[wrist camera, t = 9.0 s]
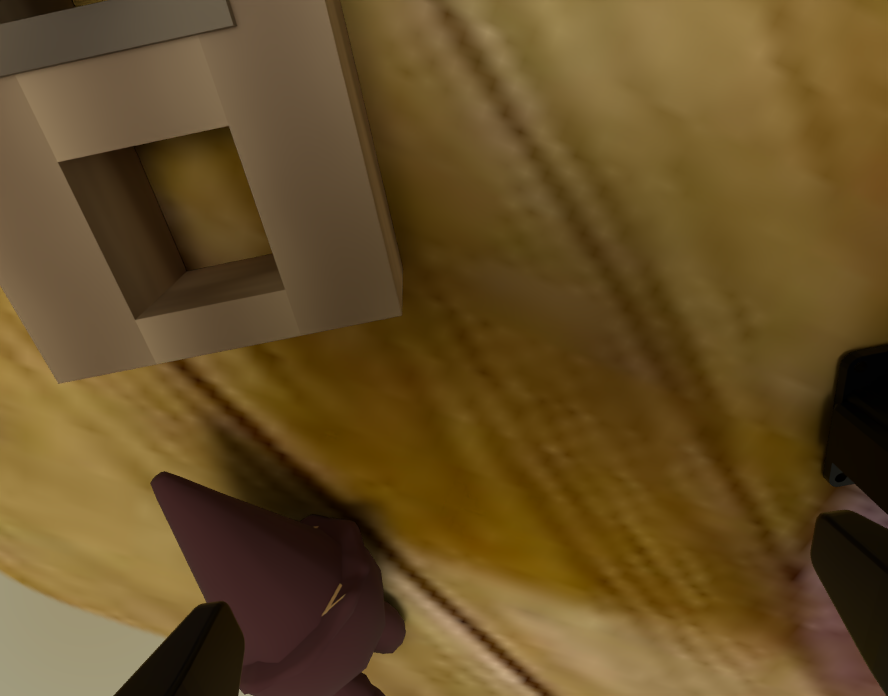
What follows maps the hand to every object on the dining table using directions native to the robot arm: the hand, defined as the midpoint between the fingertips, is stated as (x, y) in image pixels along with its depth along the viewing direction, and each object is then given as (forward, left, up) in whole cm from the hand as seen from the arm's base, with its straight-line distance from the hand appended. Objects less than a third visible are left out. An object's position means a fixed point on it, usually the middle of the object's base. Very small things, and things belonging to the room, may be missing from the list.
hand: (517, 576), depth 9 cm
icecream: (+8, +10, -13) cm, 18 cm away
